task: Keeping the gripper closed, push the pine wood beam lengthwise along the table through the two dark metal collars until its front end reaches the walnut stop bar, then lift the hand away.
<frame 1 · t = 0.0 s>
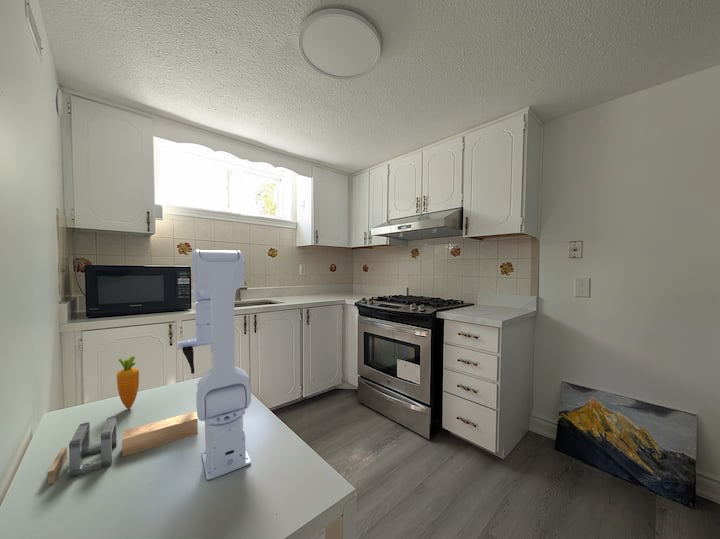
hand: (207, 369, 83), 10 cm above the table, fingers open, 7 cm apart
carrot: (128, 409, 80), on the table
firebox collars: (89, 461, 59), on the table
stop bar: (58, 470, 56), on the table
pine wood beam: (162, 441, 66), on the table
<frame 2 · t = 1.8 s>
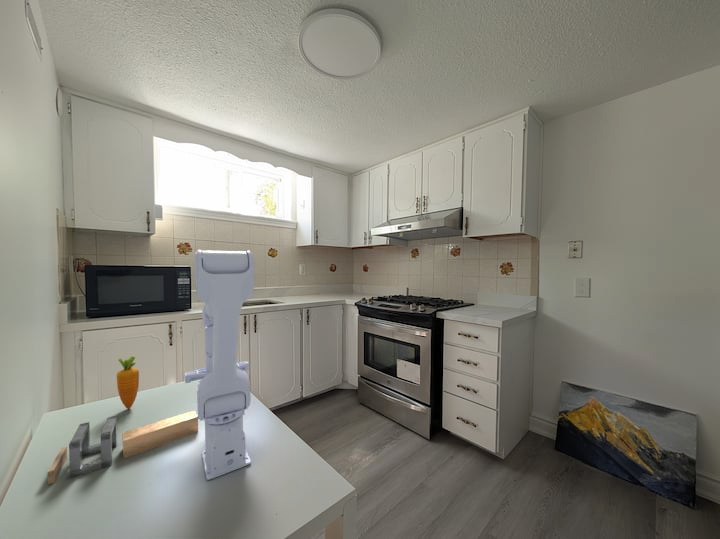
hand: (218, 403, 73), 5 cm above the table, fingers closed
nothing on the table moved.
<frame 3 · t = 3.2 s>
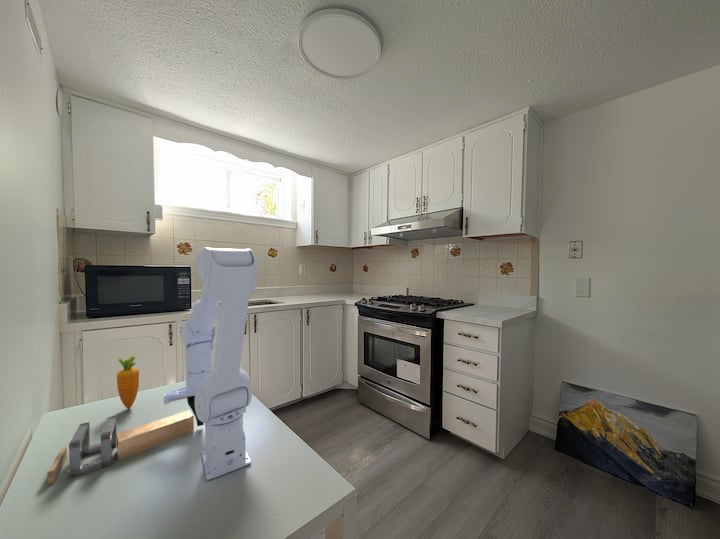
hand: (200, 423, 70), 1 cm above the table, fingers closed
pine wood beam: (157, 441, 66), on the table, touching gripper
everything else where it was.
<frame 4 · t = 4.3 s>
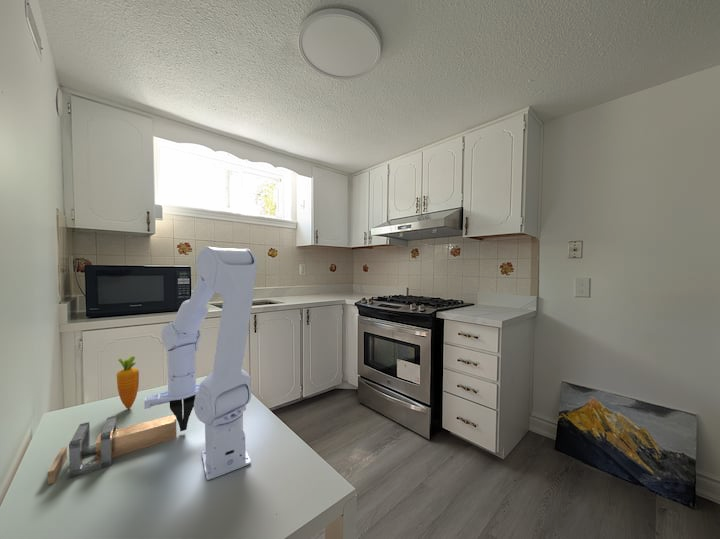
hand: (183, 428, 68), 1 cm above the table, fingers closed
pine wood beam: (139, 444, 64), on the table, touching gripper
everything else where it was.
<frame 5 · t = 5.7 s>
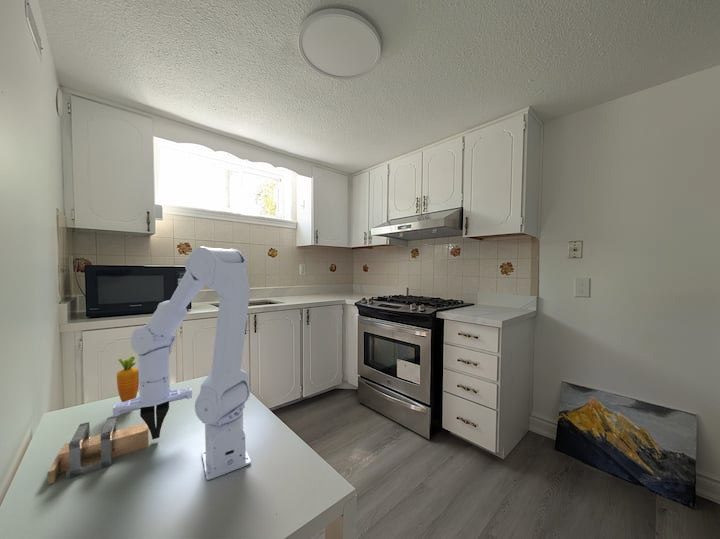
hand: (155, 436, 65), 1 cm above the table, fingers closed
pine wood beam: (108, 455, 61), on the table, touching gripper
everything else where it was.
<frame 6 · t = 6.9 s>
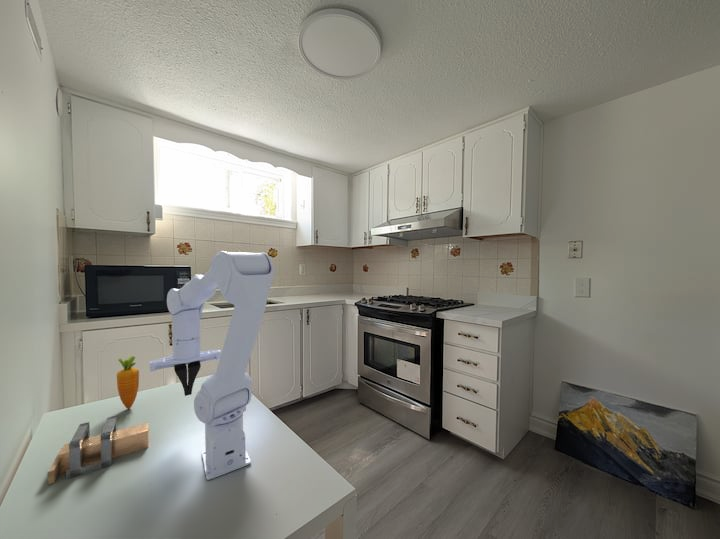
hand: (187, 393, 69), 9 cm above the table, fingers closed
pine wood beam: (108, 455, 61), on the table
everything else where it was.
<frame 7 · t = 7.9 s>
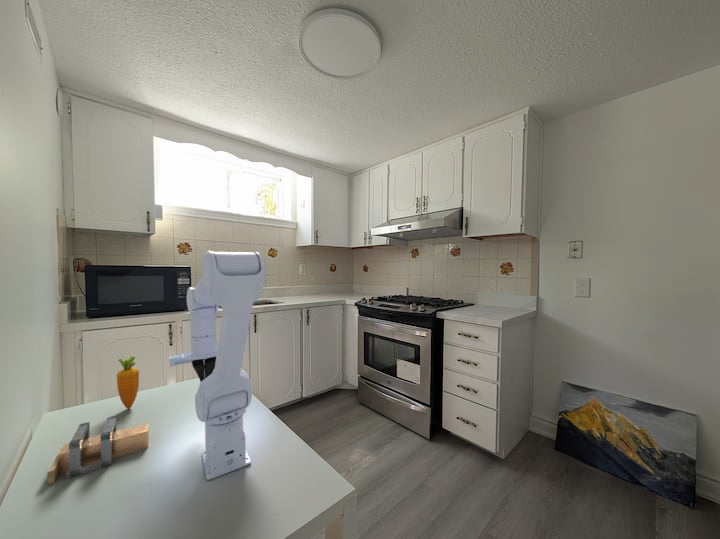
hand: (204, 388, 72), 9 cm above the table, fingers closed
nothing on the table moved.
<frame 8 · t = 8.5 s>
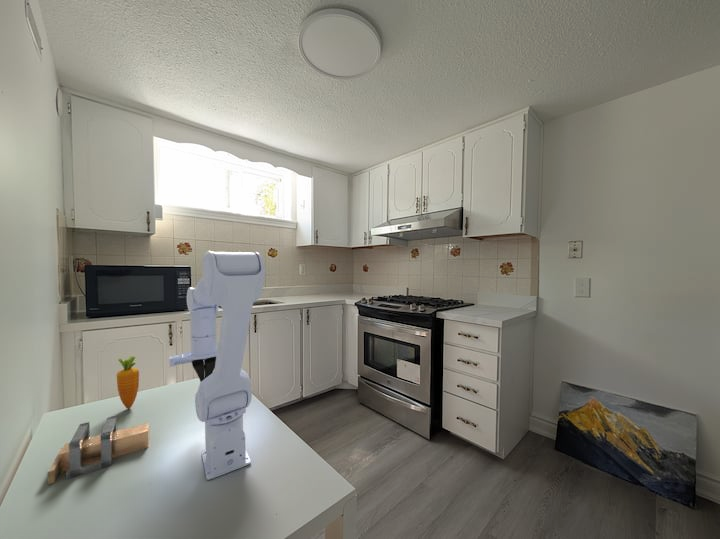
hand: (204, 388, 72), 9 cm above the table, fingers closed
nothing on the table moved.
at the end: pine wood beam 0.7 cm from the target spot, on the table; pine wood beam moved 9.6 cm from its start; pine wood beam tilted 0° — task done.
